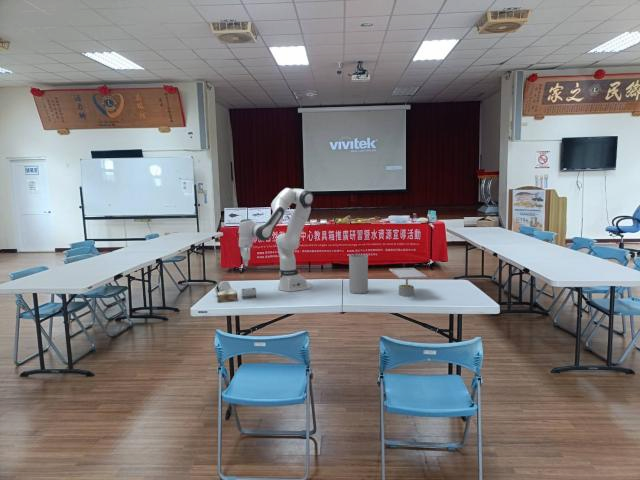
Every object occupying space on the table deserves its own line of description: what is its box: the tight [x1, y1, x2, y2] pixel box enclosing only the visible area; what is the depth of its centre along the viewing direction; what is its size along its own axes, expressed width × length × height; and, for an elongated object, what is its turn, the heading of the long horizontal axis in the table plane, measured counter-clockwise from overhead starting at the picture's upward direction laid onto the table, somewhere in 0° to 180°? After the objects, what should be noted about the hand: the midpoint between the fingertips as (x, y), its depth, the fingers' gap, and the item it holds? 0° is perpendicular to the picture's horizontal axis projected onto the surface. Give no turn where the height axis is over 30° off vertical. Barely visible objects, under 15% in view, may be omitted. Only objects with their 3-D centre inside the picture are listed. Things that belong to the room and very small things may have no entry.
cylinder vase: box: [348, 253, 369, 295], centre depth 293 cm, size 12×12×25 cm
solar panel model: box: [388, 267, 428, 298], centre depth 285 cm, size 28×17×15 cm, turn 5°
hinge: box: [214, 280, 234, 294], centre depth 294 cm, size 17×5×10 cm, turn 169°
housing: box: [240, 287, 257, 300], centre depth 284 cm, size 9×5×6 cm, turn 107°
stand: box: [216, 289, 239, 303], centre depth 279 cm, size 12×8×5 cm, turn 107°
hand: (245, 264), depth 283 cm, fingers open, 8 cm apart
